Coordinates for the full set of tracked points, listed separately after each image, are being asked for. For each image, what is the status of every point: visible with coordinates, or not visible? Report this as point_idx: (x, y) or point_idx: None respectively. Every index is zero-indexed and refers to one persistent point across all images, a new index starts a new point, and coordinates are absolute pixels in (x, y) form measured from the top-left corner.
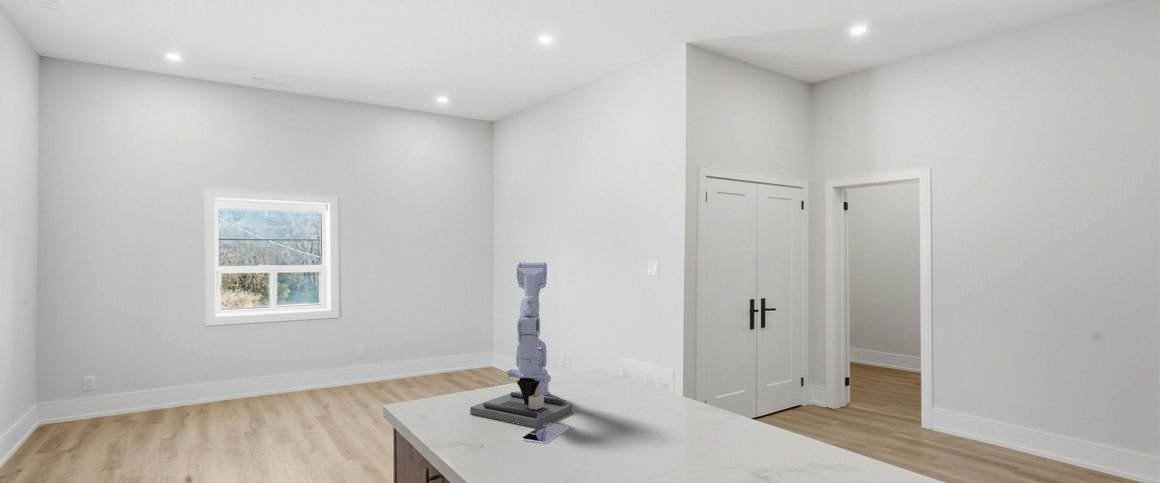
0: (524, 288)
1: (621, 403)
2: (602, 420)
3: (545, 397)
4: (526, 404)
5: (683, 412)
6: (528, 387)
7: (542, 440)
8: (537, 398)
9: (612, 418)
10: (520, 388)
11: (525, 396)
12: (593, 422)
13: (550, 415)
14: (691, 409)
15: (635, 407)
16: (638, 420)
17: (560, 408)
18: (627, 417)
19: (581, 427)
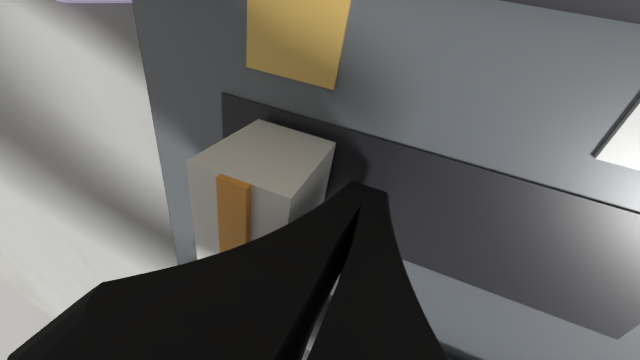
0: None
1: None
2: (55, 157)
3: (312, 339)
4: (367, 187)
5: (13, 261)
6: (192, 274)
7: None
8: (194, 171)
9: (56, 188)
10: (421, 331)
11: (355, 229)
12: (53, 122)
13: (150, 68)
14: (22, 281)
15: None
16: (4, 184)
17: (181, 206)
18: (41, 206)
19: (21, 24)
